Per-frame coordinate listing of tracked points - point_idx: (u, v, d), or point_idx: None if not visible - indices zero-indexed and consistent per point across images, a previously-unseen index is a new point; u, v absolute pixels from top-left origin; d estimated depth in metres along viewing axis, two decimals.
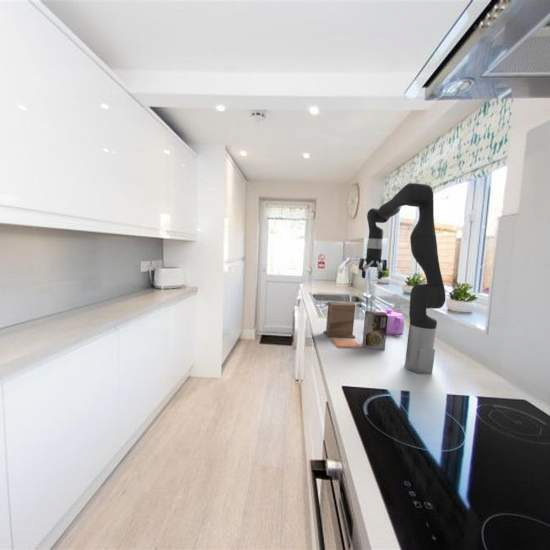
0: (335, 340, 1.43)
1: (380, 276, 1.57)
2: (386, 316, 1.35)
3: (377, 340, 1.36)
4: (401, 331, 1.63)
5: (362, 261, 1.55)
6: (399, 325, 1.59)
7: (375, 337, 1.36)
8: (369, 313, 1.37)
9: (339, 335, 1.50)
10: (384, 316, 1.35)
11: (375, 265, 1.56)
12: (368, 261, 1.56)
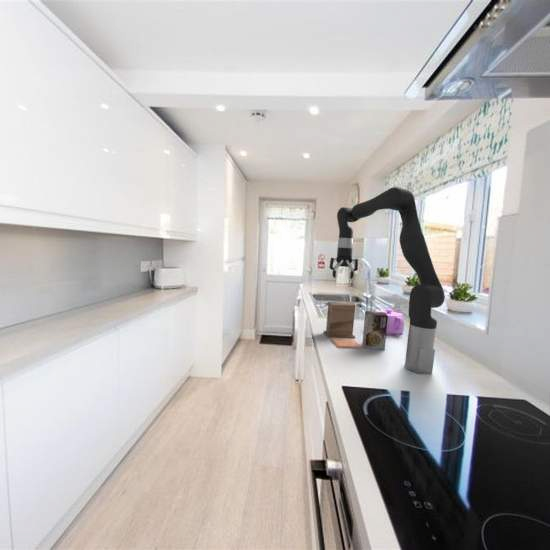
0: (335, 340, 1.43)
1: (351, 276, 1.56)
2: (386, 316, 1.35)
3: (377, 341, 1.36)
4: (401, 331, 1.63)
5: (332, 260, 1.55)
6: (399, 325, 1.59)
7: (375, 337, 1.36)
8: (369, 313, 1.37)
9: (339, 335, 1.50)
10: (384, 316, 1.35)
11: (346, 264, 1.55)
12: (338, 260, 1.55)
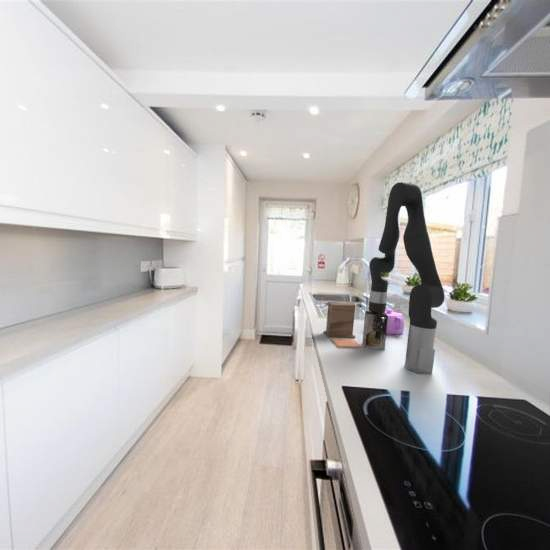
0: (335, 340, 1.43)
1: None
2: (386, 316, 1.35)
3: (377, 340, 1.36)
4: (401, 331, 1.63)
5: None
6: (399, 325, 1.59)
7: None
8: (369, 313, 1.37)
9: (339, 335, 1.50)
10: (384, 316, 1.35)
11: None
12: None
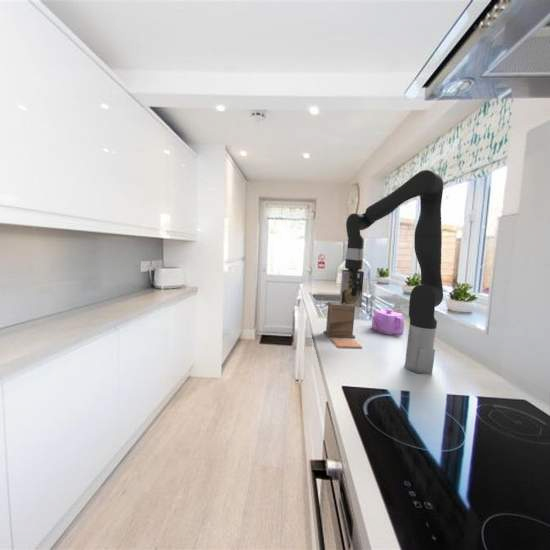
0: (335, 340, 1.43)
1: None
2: (362, 273, 1.34)
3: (353, 298, 1.35)
4: (401, 331, 1.63)
5: None
6: (399, 325, 1.59)
7: (351, 295, 1.35)
8: (345, 270, 1.36)
9: (339, 335, 1.50)
10: (360, 273, 1.34)
11: None
12: None
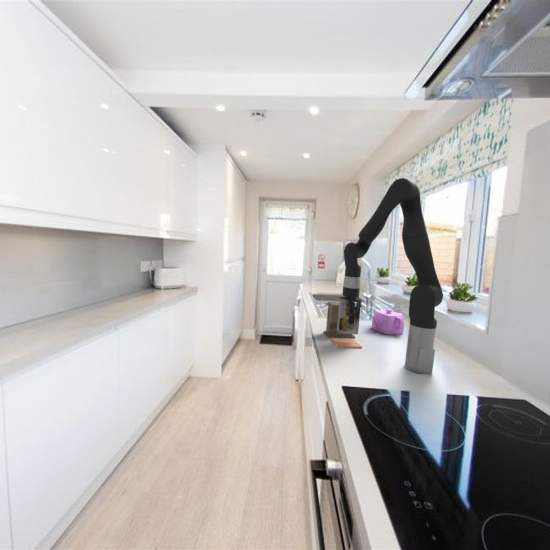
0: (335, 340, 1.43)
1: (349, 320, 1.36)
2: (359, 301, 1.35)
3: (350, 325, 1.37)
4: (401, 331, 1.63)
5: None
6: (399, 325, 1.59)
7: (348, 322, 1.37)
8: (343, 298, 1.37)
9: (339, 335, 1.50)
10: (357, 301, 1.35)
11: None
12: None
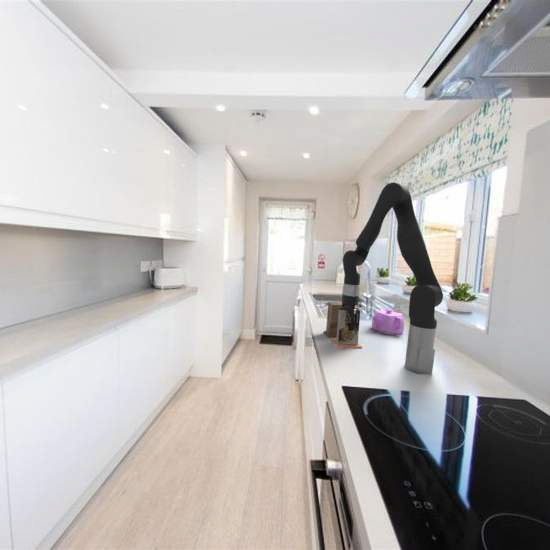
0: (335, 340, 1.43)
1: None
2: (358, 312, 1.36)
3: (350, 336, 1.37)
4: (401, 331, 1.63)
5: (342, 306, 1.45)
6: (399, 325, 1.59)
7: (348, 333, 1.37)
8: (342, 309, 1.38)
9: None
10: None
11: None
12: (344, 307, 1.42)
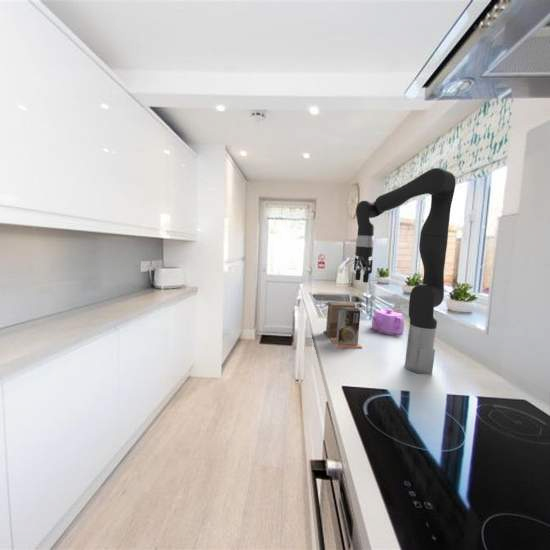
0: (335, 340, 1.43)
1: (363, 279, 1.34)
2: (359, 312, 1.36)
3: (350, 336, 1.37)
4: (401, 331, 1.63)
5: (355, 261, 1.44)
6: (399, 325, 1.59)
7: (348, 333, 1.37)
8: (342, 309, 1.38)
9: None
10: (357, 312, 1.36)
11: (361, 265, 1.37)
12: (358, 261, 1.41)
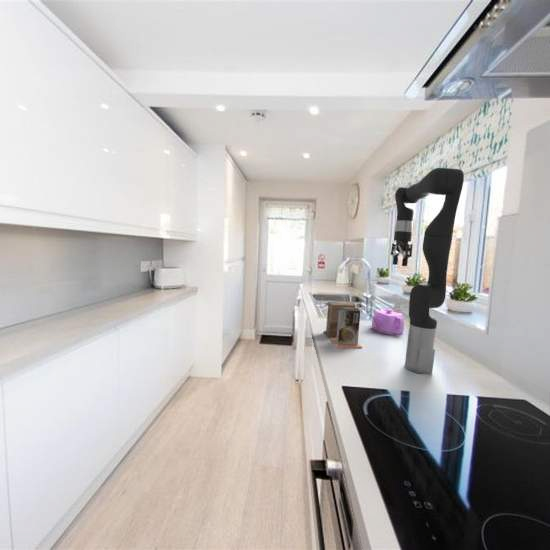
0: (335, 340, 1.43)
1: (402, 262, 1.38)
2: (359, 312, 1.36)
3: (350, 336, 1.37)
4: (401, 331, 1.63)
5: (392, 246, 1.48)
6: (399, 325, 1.59)
7: (348, 333, 1.37)
8: (342, 309, 1.38)
9: None
10: (357, 312, 1.36)
11: (400, 250, 1.41)
12: (396, 246, 1.45)
